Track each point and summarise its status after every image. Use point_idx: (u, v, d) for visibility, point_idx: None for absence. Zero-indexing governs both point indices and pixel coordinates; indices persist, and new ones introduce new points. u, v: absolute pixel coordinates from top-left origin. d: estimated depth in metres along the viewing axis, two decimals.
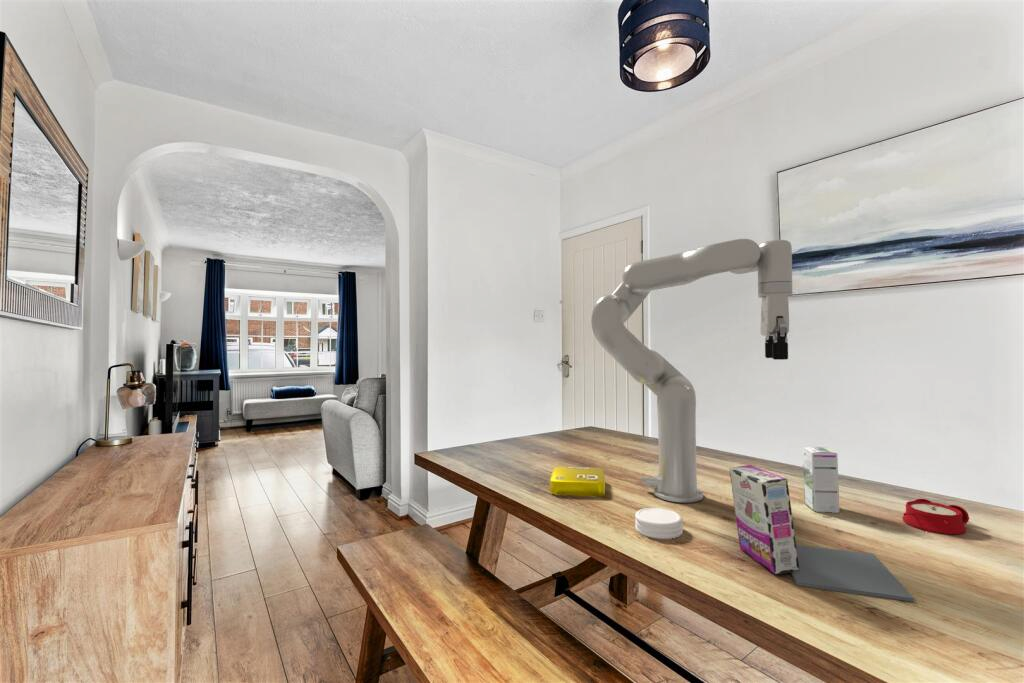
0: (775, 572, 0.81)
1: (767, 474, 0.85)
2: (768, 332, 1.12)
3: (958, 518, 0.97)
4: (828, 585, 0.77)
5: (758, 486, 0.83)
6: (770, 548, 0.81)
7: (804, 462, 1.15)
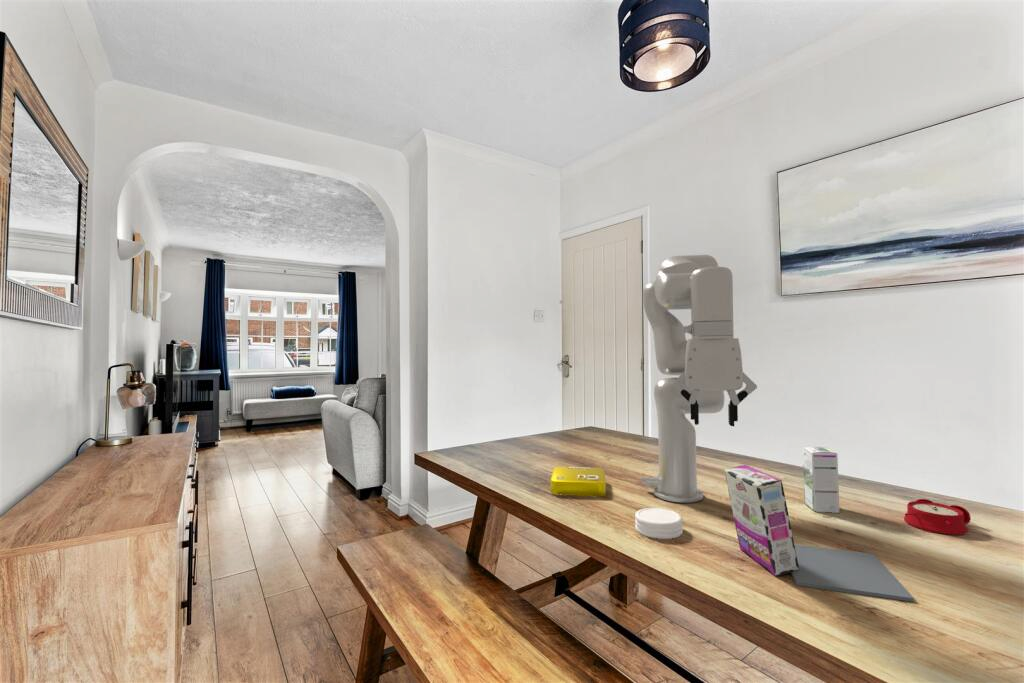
0: (775, 573, 0.81)
1: (762, 475, 0.84)
2: (741, 387, 0.86)
3: (959, 518, 0.97)
4: (828, 585, 0.77)
5: (753, 489, 0.82)
6: (769, 550, 0.81)
7: (804, 462, 1.15)
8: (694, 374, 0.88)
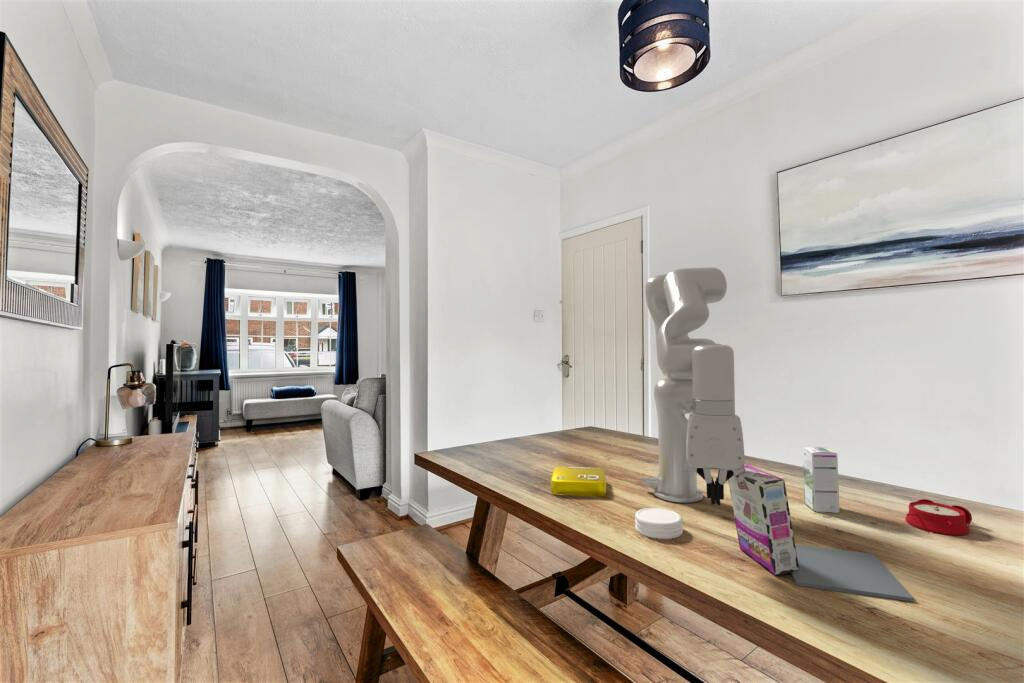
0: (775, 573, 0.81)
1: (764, 475, 0.85)
2: (742, 467, 0.86)
3: (961, 518, 0.97)
4: (828, 585, 0.77)
5: (755, 488, 0.82)
6: (770, 550, 0.81)
7: (804, 462, 1.15)
8: (695, 452, 0.88)
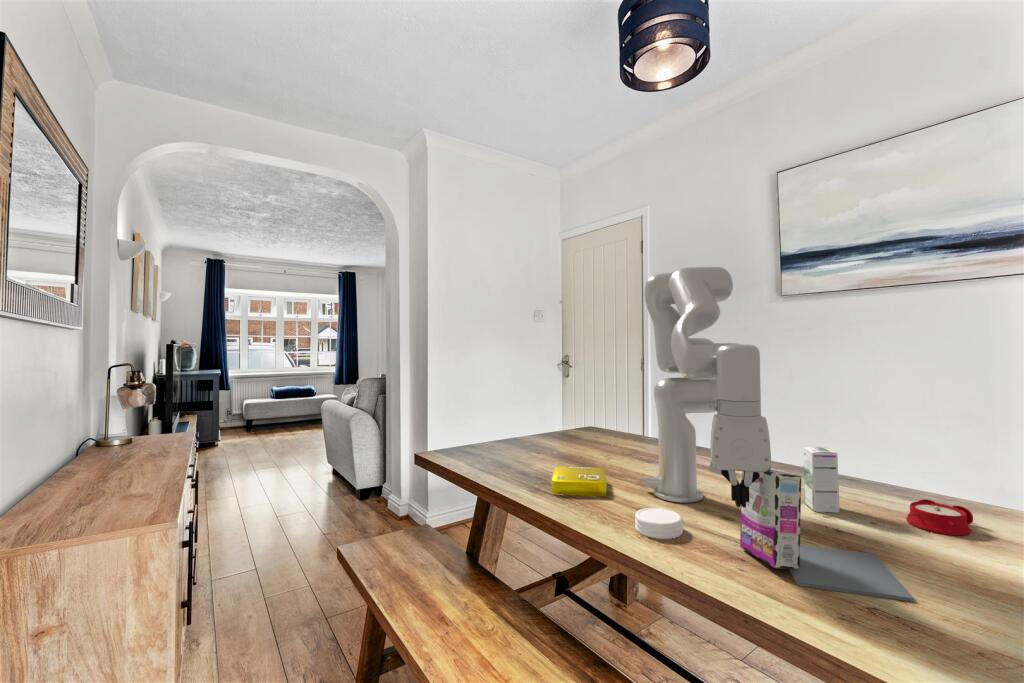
0: (775, 566, 0.81)
1: (781, 471, 0.86)
2: (769, 469, 0.84)
3: (962, 519, 0.97)
4: (828, 585, 0.77)
5: (771, 479, 0.84)
6: (774, 541, 0.82)
7: (804, 462, 1.15)
8: (721, 454, 0.87)
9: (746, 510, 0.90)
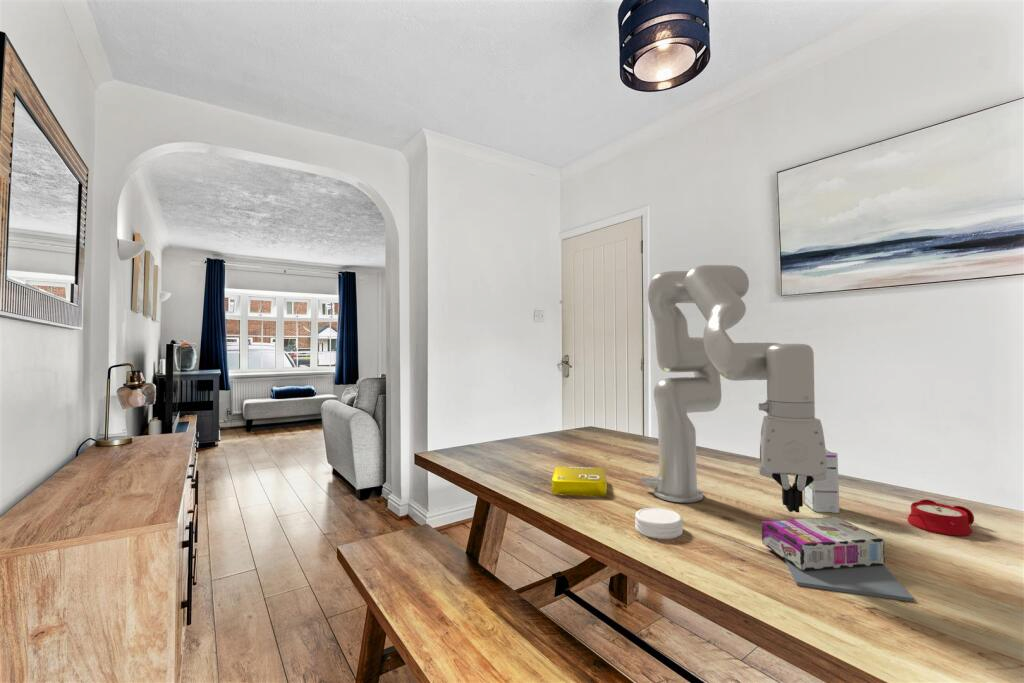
0: (802, 545, 0.81)
1: None
2: (824, 473, 0.81)
3: (964, 519, 0.97)
4: (828, 585, 0.77)
5: (871, 535, 0.84)
6: (822, 542, 0.82)
7: None
8: (773, 457, 0.84)
9: (804, 522, 0.91)
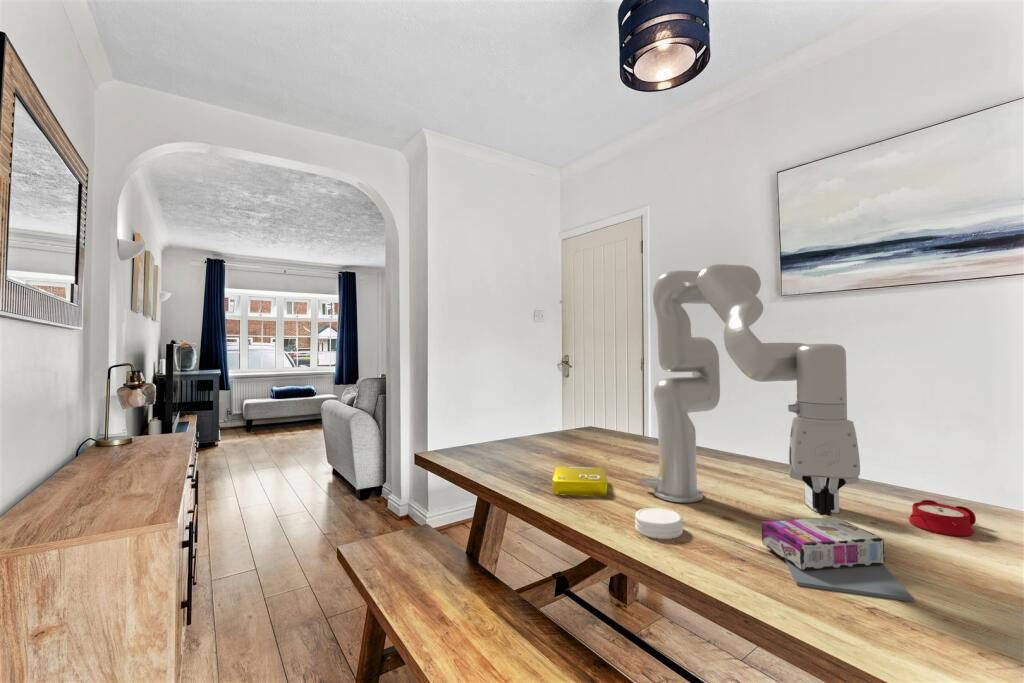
0: (802, 544, 0.81)
1: None
2: (858, 475, 0.80)
3: (965, 519, 0.96)
4: (828, 585, 0.77)
5: (871, 535, 0.84)
6: (822, 542, 0.82)
7: None
8: (804, 459, 0.82)
9: (803, 522, 0.91)
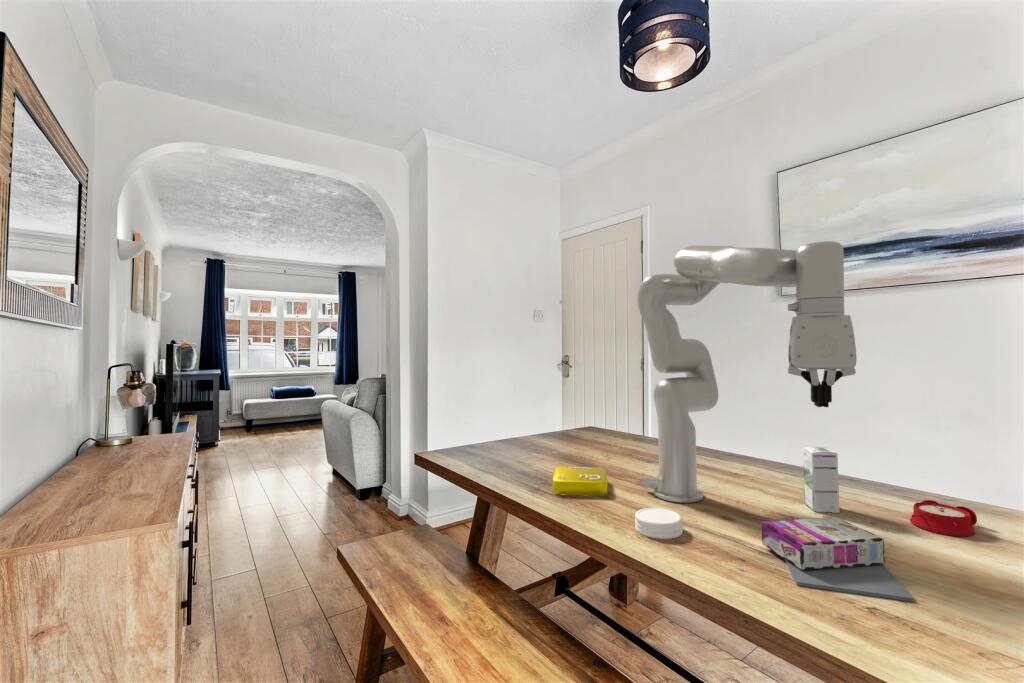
0: (802, 544, 0.81)
1: None
2: (854, 365, 0.83)
3: (967, 519, 0.96)
4: (828, 585, 0.77)
5: (871, 535, 0.84)
6: (822, 542, 0.82)
7: (804, 462, 1.15)
8: (803, 353, 0.85)
9: (803, 522, 0.91)
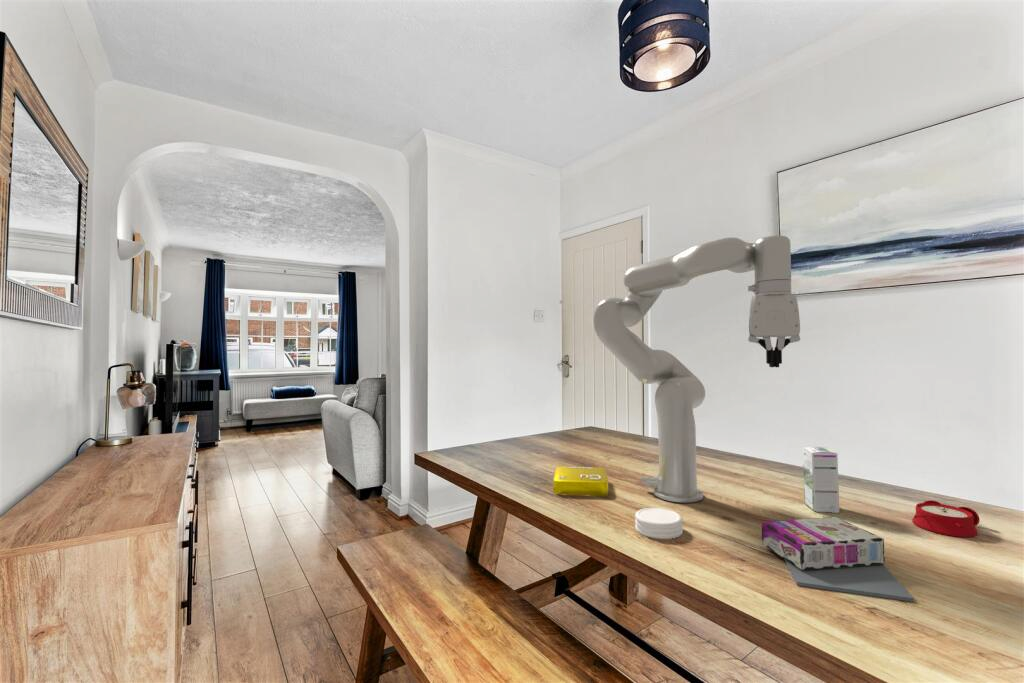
0: (802, 544, 0.81)
1: None
2: (798, 333, 1.05)
3: (969, 520, 0.96)
4: (828, 585, 0.77)
5: (871, 535, 0.84)
6: (822, 542, 0.82)
7: (804, 462, 1.15)
8: (759, 324, 1.08)
9: (803, 522, 0.91)
